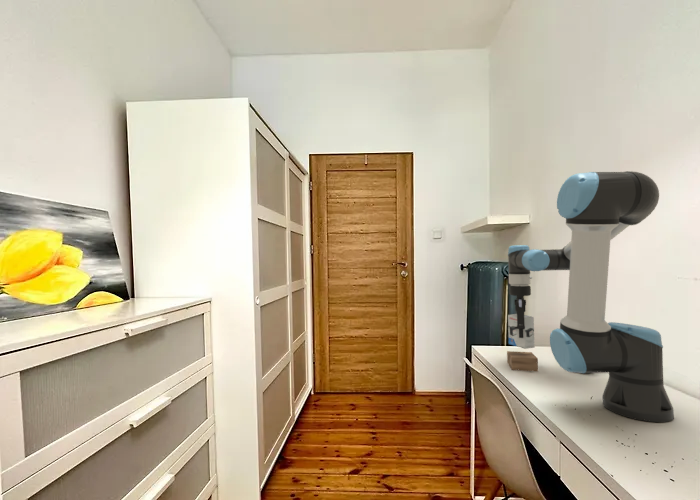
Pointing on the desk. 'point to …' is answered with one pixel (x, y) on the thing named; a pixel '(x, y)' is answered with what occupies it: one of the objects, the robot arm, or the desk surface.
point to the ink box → (528, 331)
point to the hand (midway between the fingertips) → (521, 343)
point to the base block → (522, 361)
